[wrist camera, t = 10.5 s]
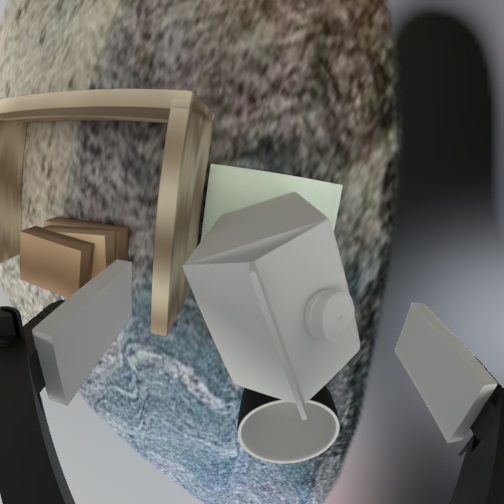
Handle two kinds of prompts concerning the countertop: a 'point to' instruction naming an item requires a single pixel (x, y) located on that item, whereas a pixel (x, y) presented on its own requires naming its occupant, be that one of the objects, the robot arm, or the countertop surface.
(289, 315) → the milk carton
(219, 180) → the mat
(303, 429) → the mug
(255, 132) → the countertop surface
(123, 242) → the offcut stack
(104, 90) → the frame
